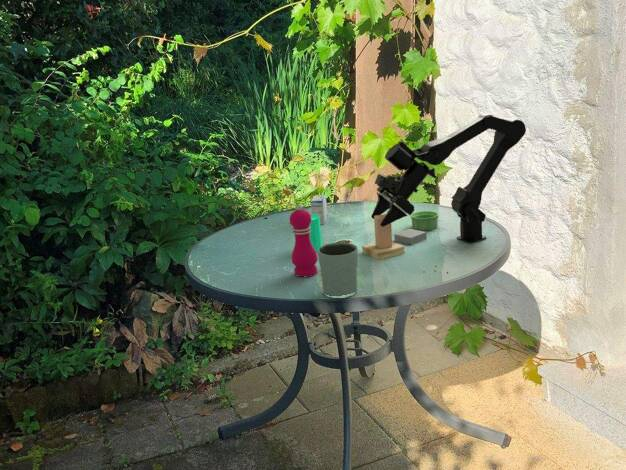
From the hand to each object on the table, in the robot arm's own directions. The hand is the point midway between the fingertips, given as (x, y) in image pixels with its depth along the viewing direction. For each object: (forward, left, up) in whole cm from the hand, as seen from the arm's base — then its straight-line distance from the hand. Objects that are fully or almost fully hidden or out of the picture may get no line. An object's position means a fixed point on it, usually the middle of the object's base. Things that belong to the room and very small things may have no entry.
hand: (376, 221), depth 198 cm
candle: (+17, +14, -10) cm, 24 cm away
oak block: (0, -1, -10) cm, 10 cm away
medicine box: (+44, -2, -10) cm, 45 cm away
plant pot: (-20, +24, -10) cm, 33 cm away
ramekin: (+13, -25, -10) cm, 30 cm away
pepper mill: (-1, +25, -10) cm, 27 cm away
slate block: (+5, -14, -10) cm, 18 cm away
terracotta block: (0, -2, -8) cm, 8 cm away
